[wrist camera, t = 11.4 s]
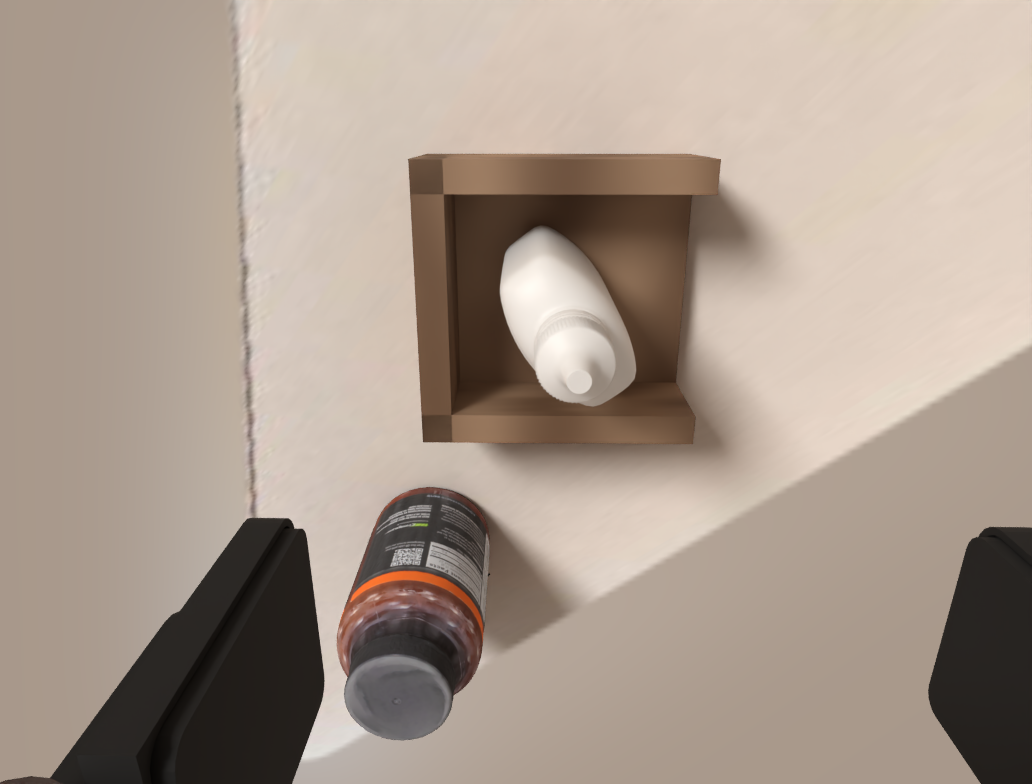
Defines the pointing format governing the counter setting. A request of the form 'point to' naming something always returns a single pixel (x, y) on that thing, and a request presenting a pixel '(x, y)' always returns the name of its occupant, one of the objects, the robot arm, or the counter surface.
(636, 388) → the open wooden box
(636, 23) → the counter surface
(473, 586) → the supplement bottle
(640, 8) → the counter surface
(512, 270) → the eye dropper bottle
